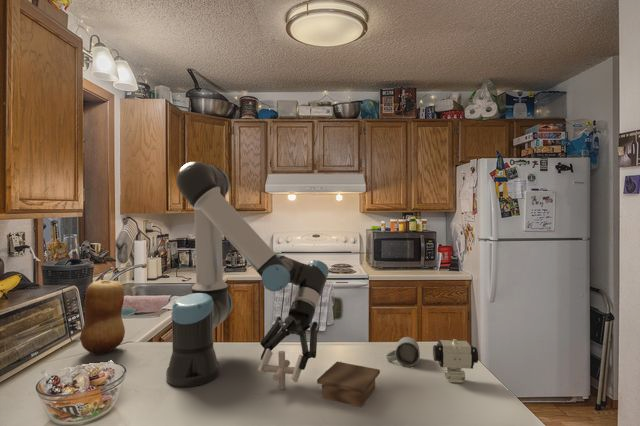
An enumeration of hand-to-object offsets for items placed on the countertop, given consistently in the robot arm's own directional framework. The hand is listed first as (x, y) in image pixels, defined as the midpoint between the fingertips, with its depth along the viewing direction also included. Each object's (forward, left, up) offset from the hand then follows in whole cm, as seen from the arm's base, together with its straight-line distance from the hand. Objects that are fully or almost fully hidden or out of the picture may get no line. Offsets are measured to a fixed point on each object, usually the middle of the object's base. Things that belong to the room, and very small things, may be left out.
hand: (277, 376), depth 103 cm
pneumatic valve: (+43, +28, -4) cm, 51 cm away
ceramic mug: (+26, +35, -4) cm, 44 cm away
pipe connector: (0, +3, -4) cm, 5 cm away
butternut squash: (-70, -2, -4) cm, 70 cm away
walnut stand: (+18, +8, -4) cm, 20 cm away
